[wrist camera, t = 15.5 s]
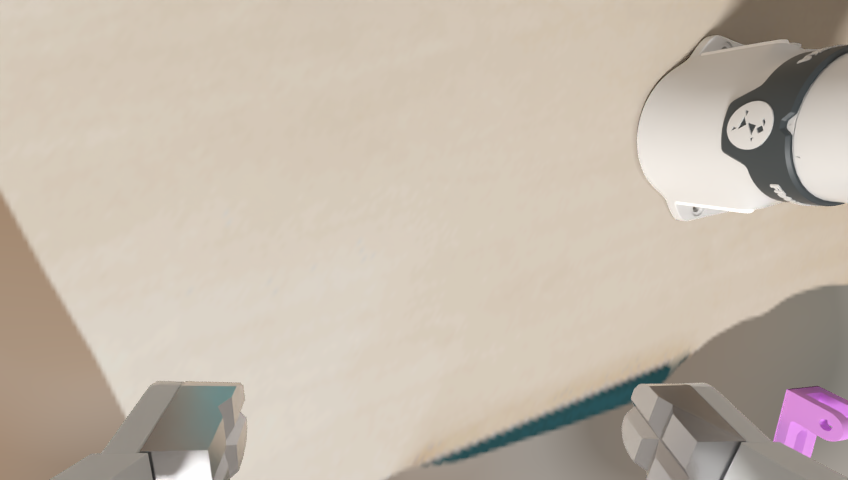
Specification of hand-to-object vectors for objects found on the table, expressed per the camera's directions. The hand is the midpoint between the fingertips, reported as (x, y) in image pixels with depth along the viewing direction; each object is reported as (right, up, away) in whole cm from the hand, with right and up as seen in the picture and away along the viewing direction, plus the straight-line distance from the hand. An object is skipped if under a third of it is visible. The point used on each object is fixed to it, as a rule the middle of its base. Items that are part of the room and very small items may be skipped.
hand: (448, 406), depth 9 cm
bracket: (+51, -23, +51) cm, 76 cm away
